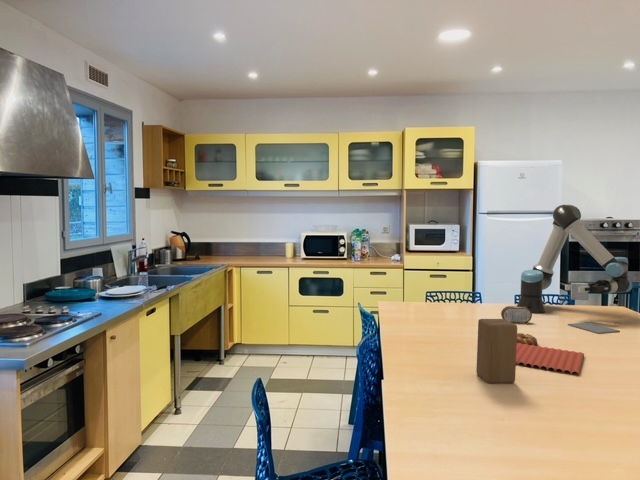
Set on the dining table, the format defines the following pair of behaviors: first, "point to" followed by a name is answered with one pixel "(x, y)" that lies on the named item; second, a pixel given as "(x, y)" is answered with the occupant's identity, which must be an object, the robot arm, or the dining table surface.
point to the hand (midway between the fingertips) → (572, 288)
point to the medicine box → (575, 291)
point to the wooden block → (496, 350)
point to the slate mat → (593, 328)
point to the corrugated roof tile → (549, 358)
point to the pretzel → (526, 339)
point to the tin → (516, 314)
